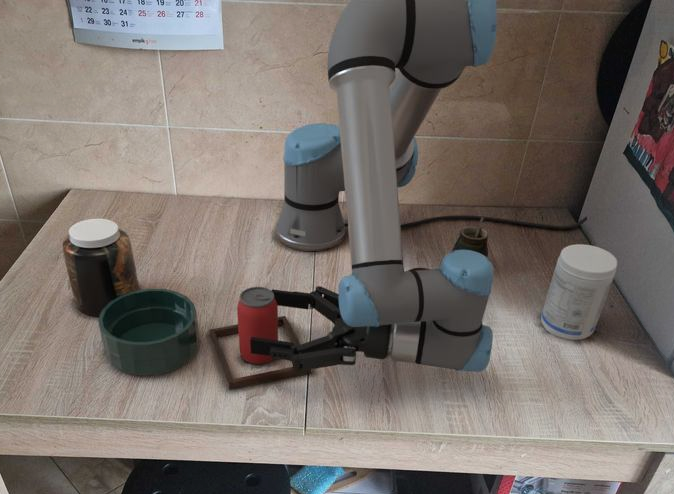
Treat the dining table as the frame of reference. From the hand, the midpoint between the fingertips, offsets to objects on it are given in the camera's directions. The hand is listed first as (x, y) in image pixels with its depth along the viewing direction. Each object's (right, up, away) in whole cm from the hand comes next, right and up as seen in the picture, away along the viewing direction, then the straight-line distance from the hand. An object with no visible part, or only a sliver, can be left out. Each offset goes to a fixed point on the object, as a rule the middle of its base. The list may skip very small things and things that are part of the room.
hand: (261, 319), depth 106 cm
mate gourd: (+41, +12, +29) cm, 51 cm away
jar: (-30, +4, +17) cm, 35 cm away
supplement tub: (+55, -1, +13) cm, 57 cm away
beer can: (-1, -6, +5) cm, 8 cm away
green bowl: (-19, -5, +6) cm, 20 cm away
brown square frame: (-1, -6, +5) cm, 7 cm away
